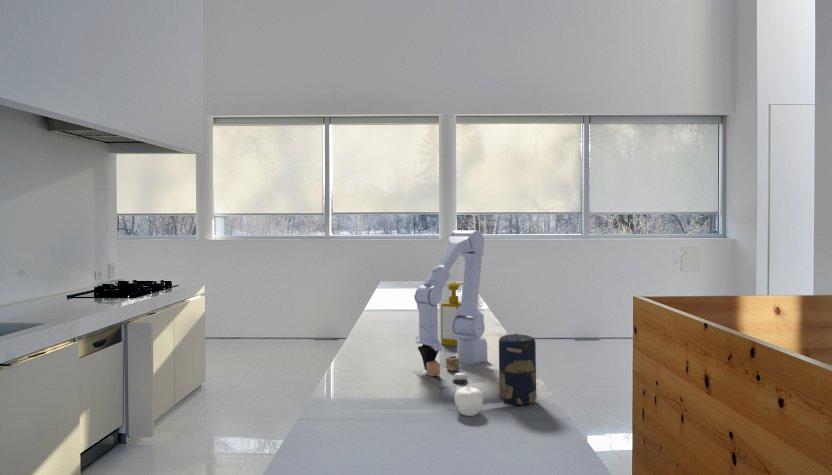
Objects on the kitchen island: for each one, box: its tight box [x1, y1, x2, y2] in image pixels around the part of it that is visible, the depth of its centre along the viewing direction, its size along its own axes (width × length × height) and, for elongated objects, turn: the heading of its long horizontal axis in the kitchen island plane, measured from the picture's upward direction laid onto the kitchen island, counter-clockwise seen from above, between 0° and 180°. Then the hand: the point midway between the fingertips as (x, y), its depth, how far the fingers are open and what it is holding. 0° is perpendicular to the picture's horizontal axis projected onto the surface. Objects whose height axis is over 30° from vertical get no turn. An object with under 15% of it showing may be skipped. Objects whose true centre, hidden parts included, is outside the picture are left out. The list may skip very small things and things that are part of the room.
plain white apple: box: [454, 382, 484, 417], centre depth 145 cm, size 7×7×8 cm
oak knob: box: [445, 355, 460, 371], centre depth 182 cm, size 3×3×4 cm
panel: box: [412, 367, 486, 389], centre depth 175 cm, size 15×19×2 cm
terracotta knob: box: [426, 360, 441, 376], centre depth 176 cm, size 3×3×4 cm
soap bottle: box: [440, 281, 468, 347], centre depth 228 cm, size 7×13×24 cm, turn 148°
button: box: [455, 373, 465, 380], centre depth 169 cm, size 3×3×1 cm
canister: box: [498, 332, 537, 405], centre depth 154 cm, size 10×10×18 cm
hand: (428, 369), depth 179 cm, fingers closed
